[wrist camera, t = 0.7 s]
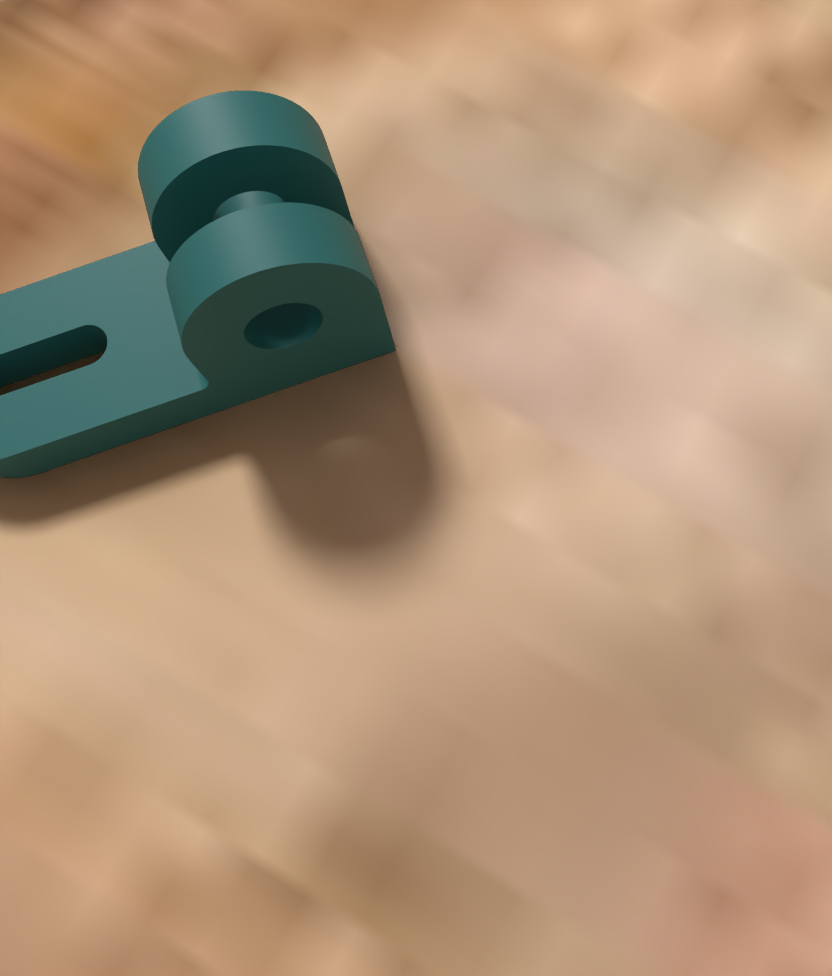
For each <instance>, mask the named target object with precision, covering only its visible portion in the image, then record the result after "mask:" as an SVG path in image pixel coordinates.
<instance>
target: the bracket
mask: <svg viewBox="0 0 832 976" xmlns="http://www.w3.org/2000/svg"><path fill="white" fill-rule="evenodd" d="M138 178H139V182H140V186H141V190H142V194H143V197H144V201H145V205H146V209H147V213H148V217H149V221H150V225H151V228H152V232H153V236H154V239H155V241H153V242H150V243H147V244H144V245H141V246H139V247H136V248H133V249H130V250H127V251H124V252H121V253H118V254H116V255H113V256H110V257H107V258H104V259H101V260H98V261H95V262H93V263H90V264H87V265H84V266H81V267H78V268H75V269H72V270H70V271H67V272H64V273H61V274H58V275H55V276H52V277H49V278H47V279H44V280H41V281H38V282H35V283H32V284H29V285H26V286H23V287H21V288H18V289H15V290H12V291H9V292H6V293H3V294H0V387H2V386H5V385H8V384H11V383H14V382H17V381H20V380H22V379H25V378H28V377H31V376H34V375H37V374H40V373H43V372H46V371H48V370H51V369H54V368H57V367H60V366H63V365H66V364H69V363H71V362H74V361H77V360H80V359H83V358H86V357H89V356H92V355H95V354H97V353H100V352H103V351H105V352H104V354H103V355H102V357H101V358H100V359H99V360H97V361H96V362H95V363H93V364H90V365H87V366H84V367H82V368H79V369H76V370H73V371H70V372H67V373H64V374H61V375H58V376H56V377H53V378H50V379H47V380H44V381H41V382H38V383H35V384H32V385H30V386H27V387H24V388H21V389H18V390H15V391H12V392H9V393H6V394H4V395H1V396H0V477H3V478H20V477H27V476H32V475H35V474H38V473H42V472H44V471H47V470H50V469H53V468H56V467H59V466H62V465H65V464H68V463H71V462H73V461H76V460H79V459H82V458H85V457H88V456H91V455H94V454H97V453H100V452H102V451H105V450H108V449H111V448H114V447H117V446H120V445H123V444H126V443H129V442H131V441H134V440H137V439H140V438H143V437H146V436H149V435H152V434H155V433H158V432H160V431H163V430H166V429H169V428H172V427H175V426H178V425H181V424H184V423H187V422H189V421H192V420H195V419H198V418H201V417H204V416H207V415H210V414H213V413H216V412H218V411H221V410H224V409H227V408H230V407H233V406H236V405H239V404H242V403H245V402H247V401H250V400H253V399H256V398H259V397H262V396H265V395H268V394H271V393H273V392H276V391H279V390H282V389H285V388H288V387H291V386H294V385H297V384H300V383H302V382H305V381H308V380H311V379H314V378H317V377H320V376H323V375H326V374H329V373H331V372H334V371H337V370H340V369H343V368H346V367H349V366H352V365H355V364H358V363H360V362H363V361H366V360H369V359H372V358H375V357H378V356H381V355H384V354H387V353H389V352H392V351H395V350H396V349H395V345H394V342H393V339H392V335H391V332H390V328H389V325H388V321H387V318H386V315H385V311H384V308H383V304H382V301H381V298H380V294H379V291H378V288H377V286H376V283H375V280H374V277H373V274H372V271H371V268H370V266H369V263H368V260H367V257H366V254H365V251H364V249H363V246H362V243H361V240H360V237H359V235H358V233H357V231H356V229H355V228H354V225H353V222H352V219H351V216H350V212H349V209H348V206H347V202H346V199H345V196H344V193H343V189H342V186H341V183H340V180H339V178H338V175H337V172H336V169H335V166H334V163H333V161H332V158H331V155H330V152H329V149H328V146H327V143H326V141H325V138H324V135H323V133H322V130H321V128H320V127H319V125H318V123H317V122H316V121H315V119H314V118H313V117H312V116H311V115H310V114H309V113H308V112H307V111H306V110H305V109H303V108H302V107H301V106H299V105H297V104H296V103H294V102H292V101H290V100H288V99H286V98H283V97H280V96H277V95H274V94H270V93H265V92H258V91H229V92H223V93H217V94H213V95H209V96H206V97H203V98H200V99H197V100H195V101H192V102H190V103H188V104H186V105H184V106H182V107H181V108H179V109H177V110H175V111H174V112H173V113H171V114H170V115H168V116H167V117H166V118H165V119H164V120H163V121H161V122H160V123H159V124H158V125H157V127H156V128H155V129H154V130H153V131H152V132H151V134H150V135H149V137H148V138H147V140H146V142H145V144H144V145H143V148H142V150H141V153H140V157H139V162H138Z"/></svg>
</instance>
